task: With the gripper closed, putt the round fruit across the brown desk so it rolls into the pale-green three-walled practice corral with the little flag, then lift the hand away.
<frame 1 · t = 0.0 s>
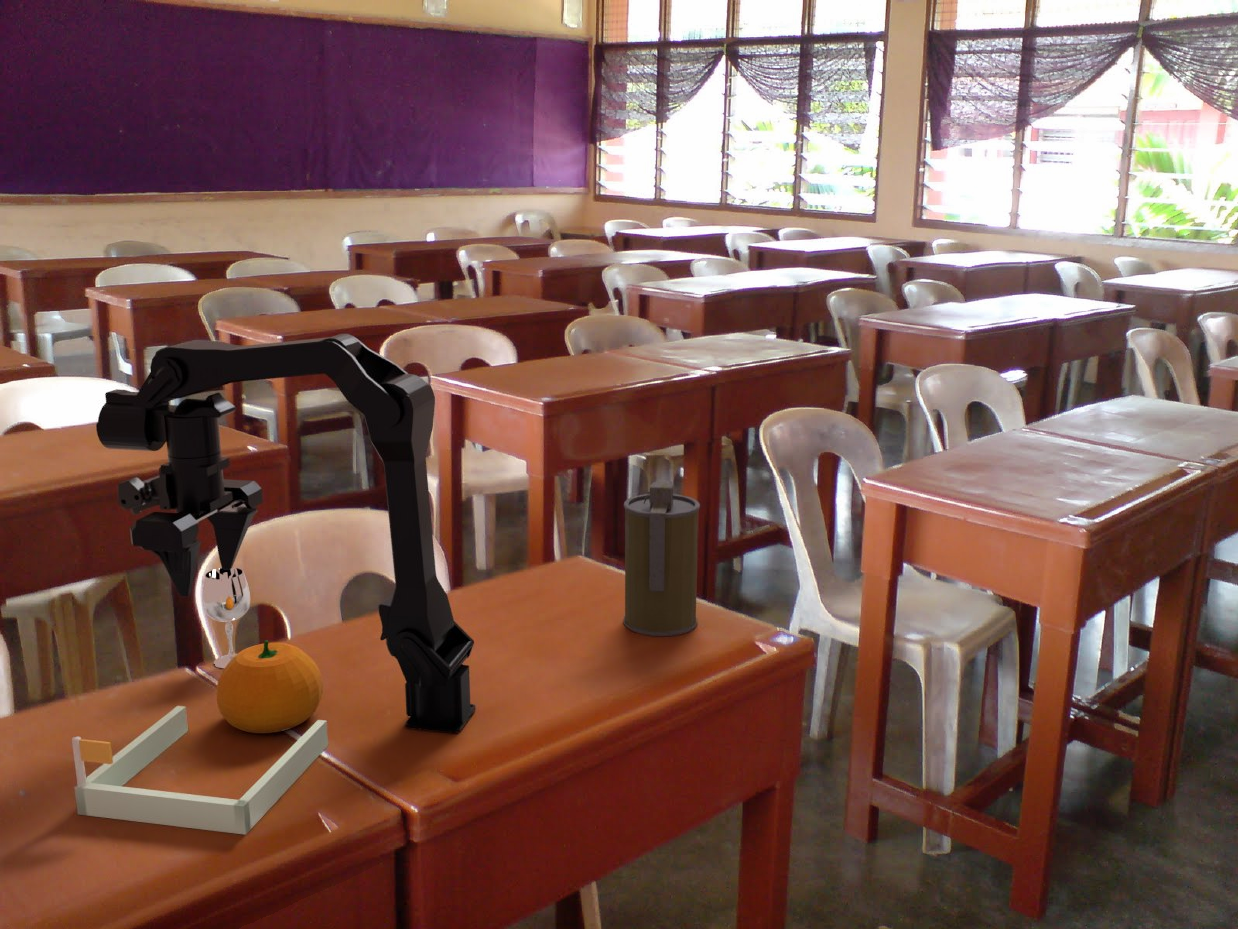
hand: (206, 582, 136), 15 cm above the table, fingers open, 9 cm apart
corral: (210, 778, 121), on the table
wineglass: (232, 662, 150), on the table
canister: (660, 624, 162), on the table
fruit: (272, 721, 134), on the table
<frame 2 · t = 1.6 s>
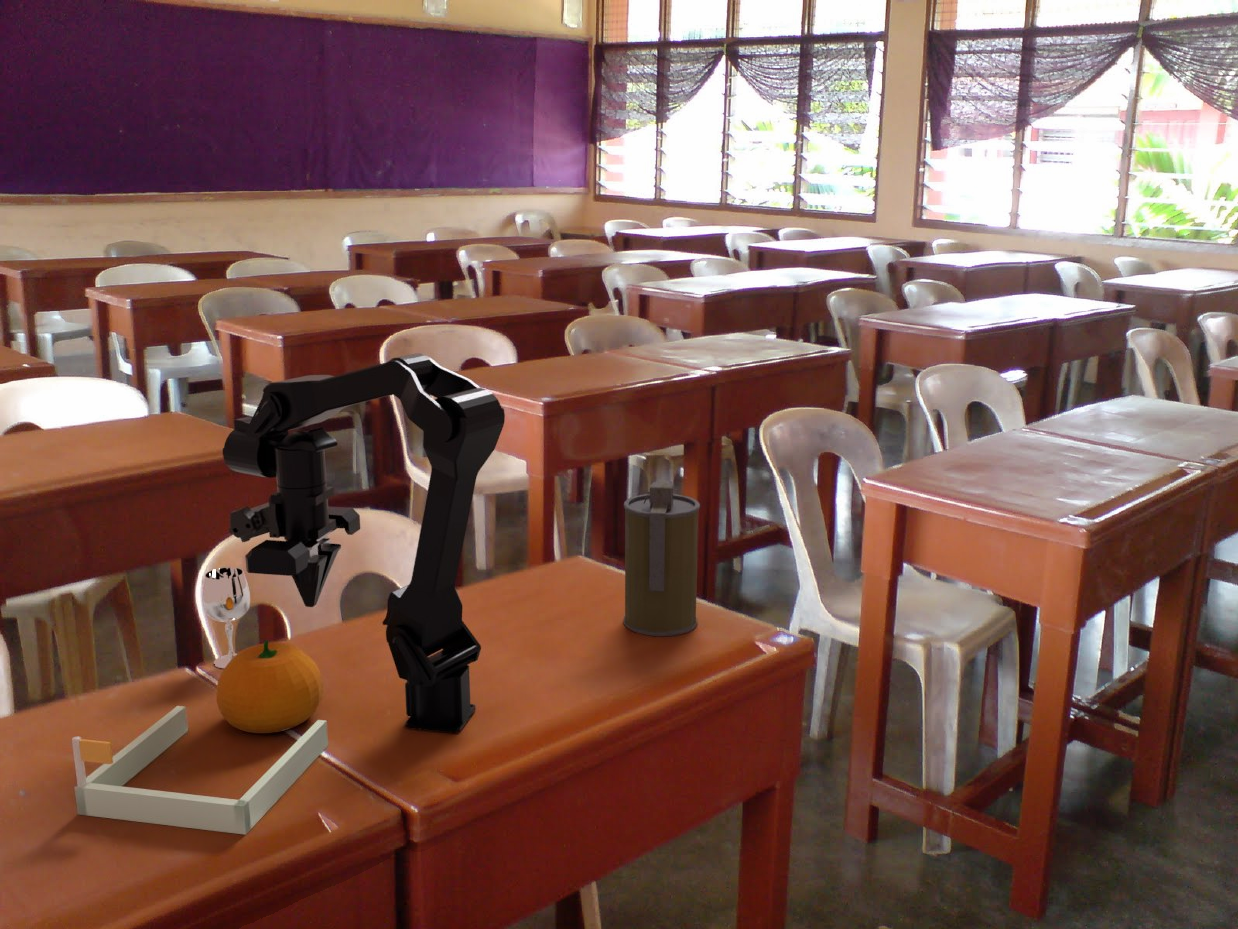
hand: (310, 606, 142), 10 cm above the table, fingers closed
nothing on the table moved.
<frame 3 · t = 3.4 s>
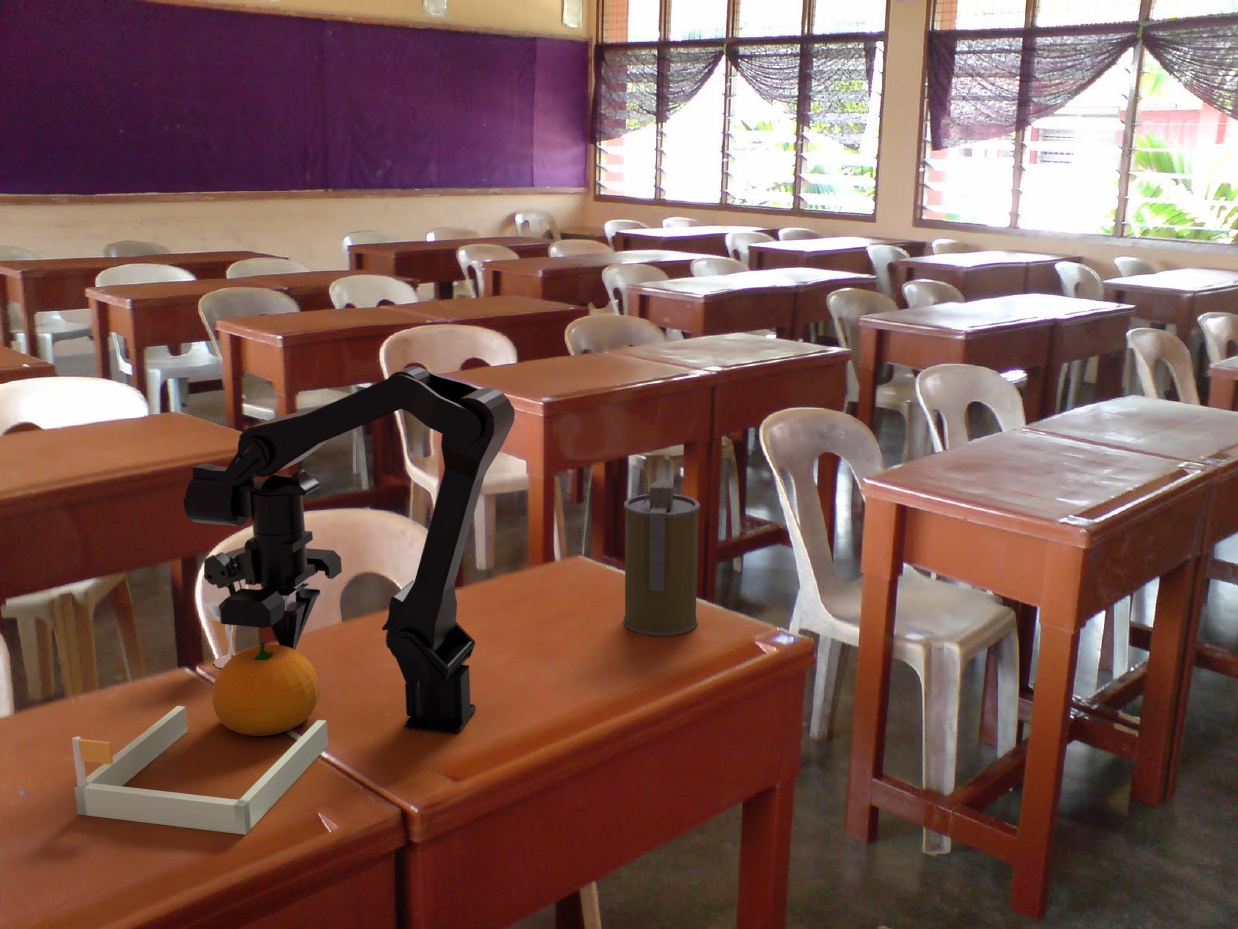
hand: (288, 653, 137), 6 cm above the table, fingers closed
fruit: (269, 724, 133), on the table, touching gripper
everything else where it was.
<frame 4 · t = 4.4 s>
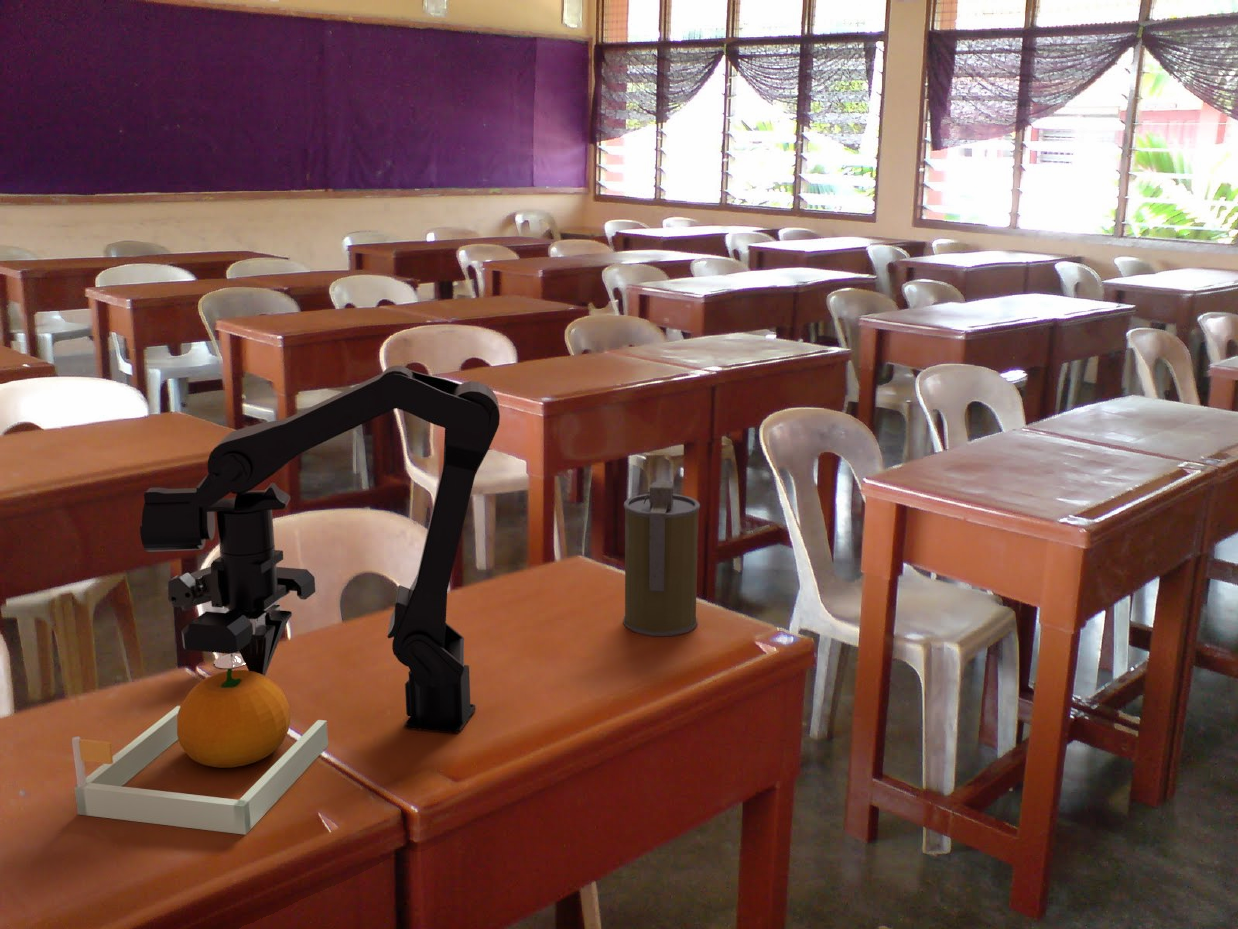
hand: (258, 678, 130), 6 cm above the table, fingers closed
fruit: (237, 754, 126), on the table, touching gripper
everything else where it was.
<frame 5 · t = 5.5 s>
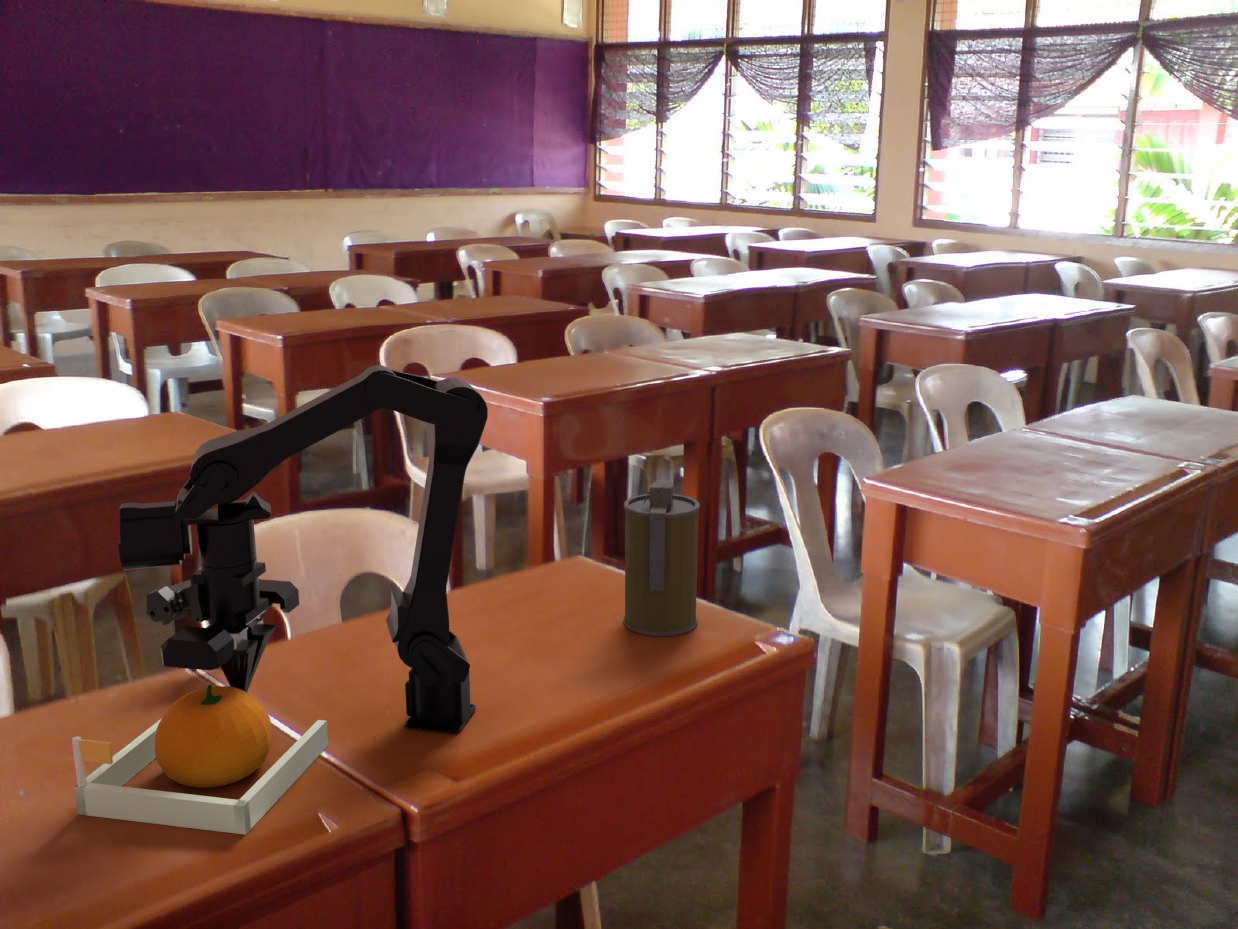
hand: (240, 695, 126), 6 cm above the table, fingers closed
fruit: (217, 773, 122), on the table, touching gripper
everything else where it was.
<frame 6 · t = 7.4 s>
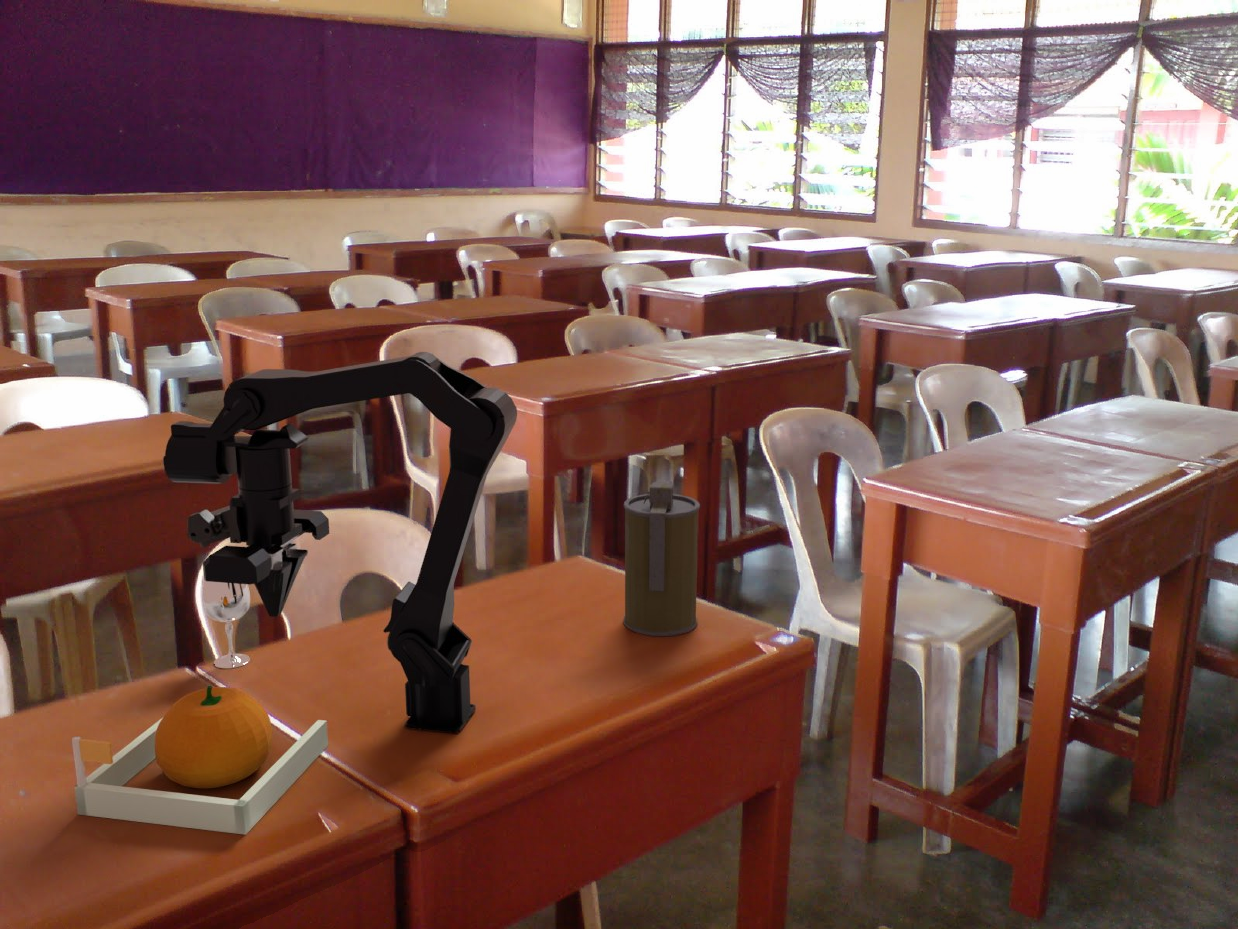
hand: (275, 615, 133), 12 cm above the table, fingers closed
fruit: (217, 774, 122), on the table
everything else where it was.
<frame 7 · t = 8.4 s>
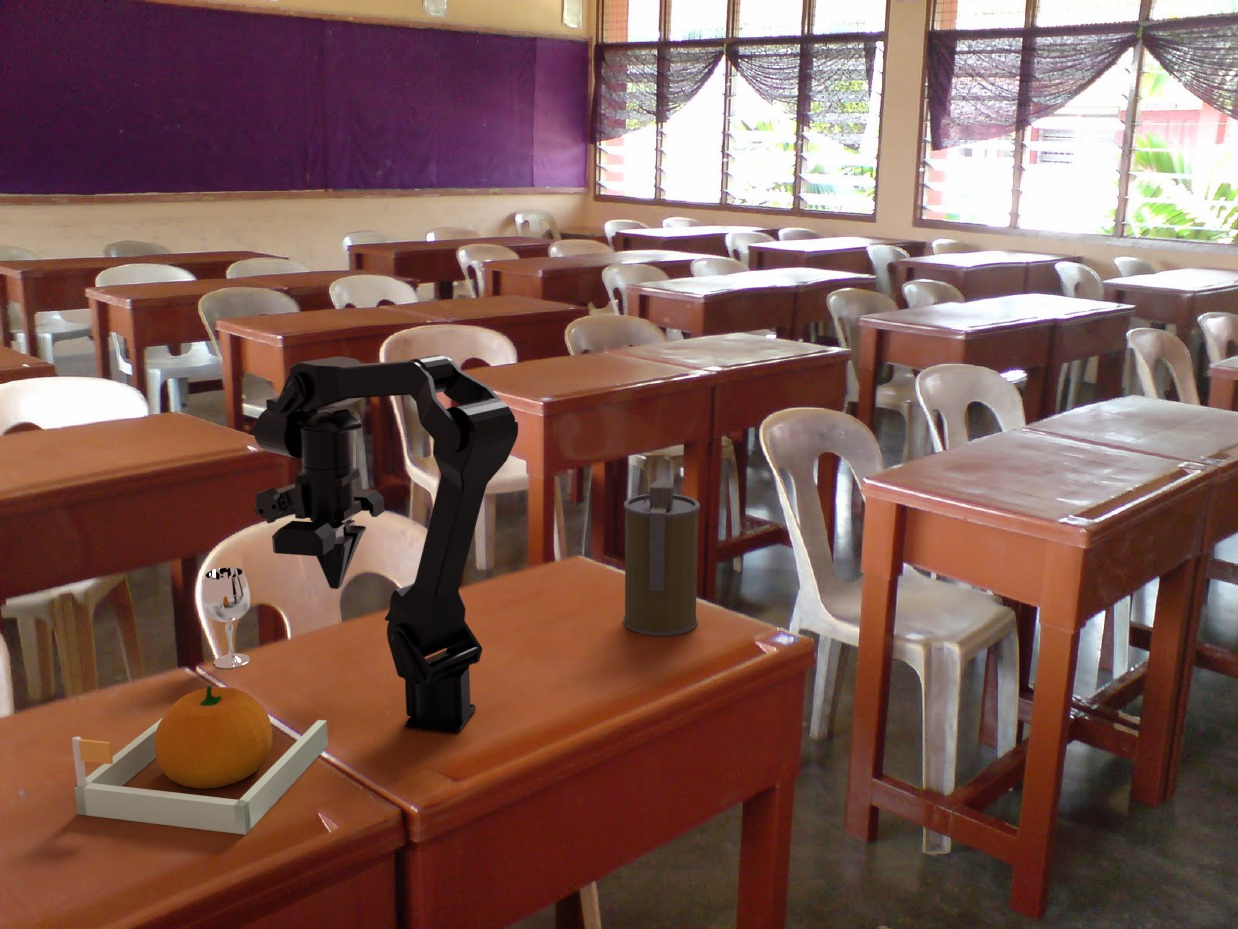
hand: (335, 587, 142), 12 cm above the table, fingers closed
nothing on the table moved.
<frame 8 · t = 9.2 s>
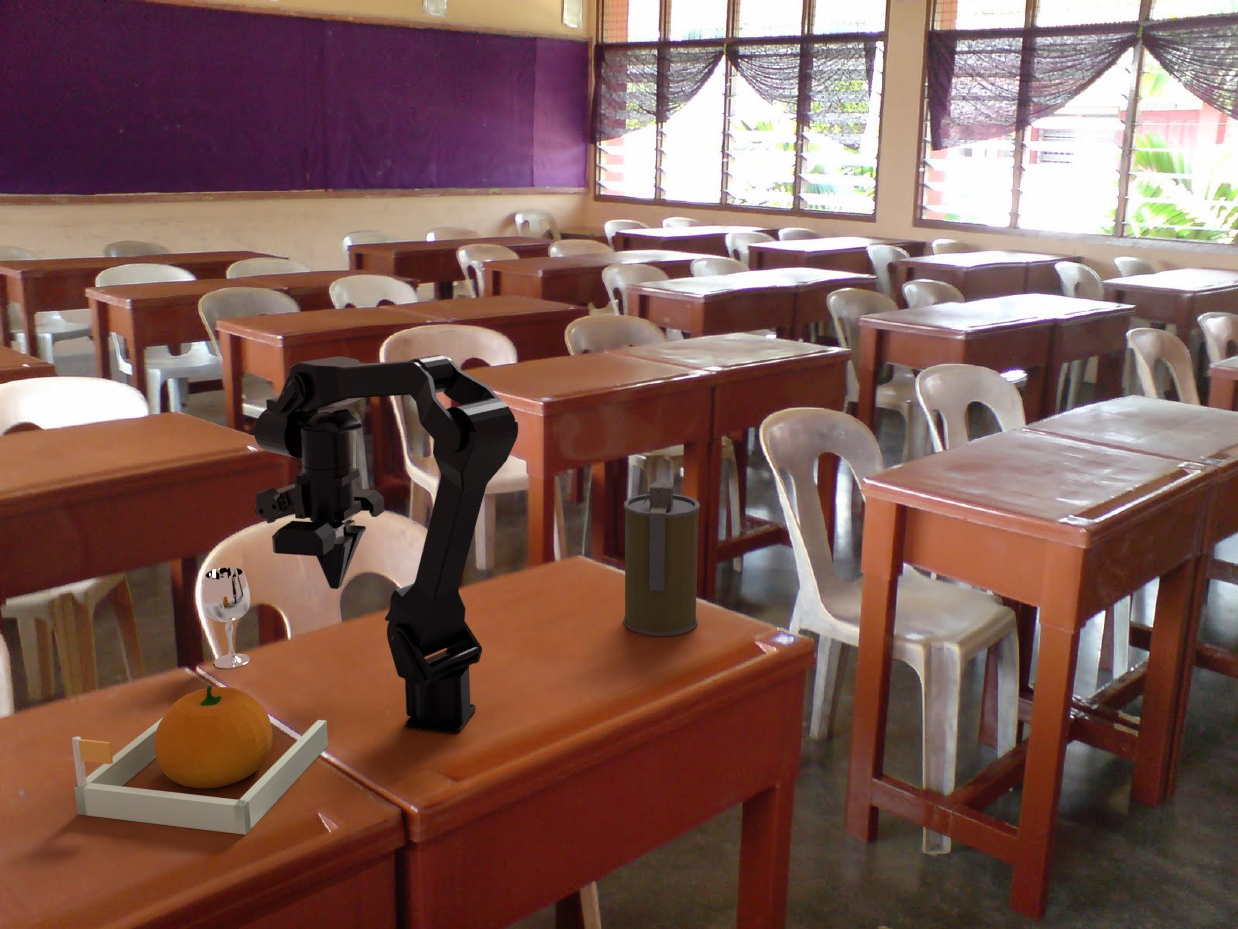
hand: (335, 587, 142), 12 cm above the table, fingers closed
nothing on the table moved.
at the end: fruit inside the target area (1.4 cm from its centre), on the table; fruit moved 12.1 cm from its start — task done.
